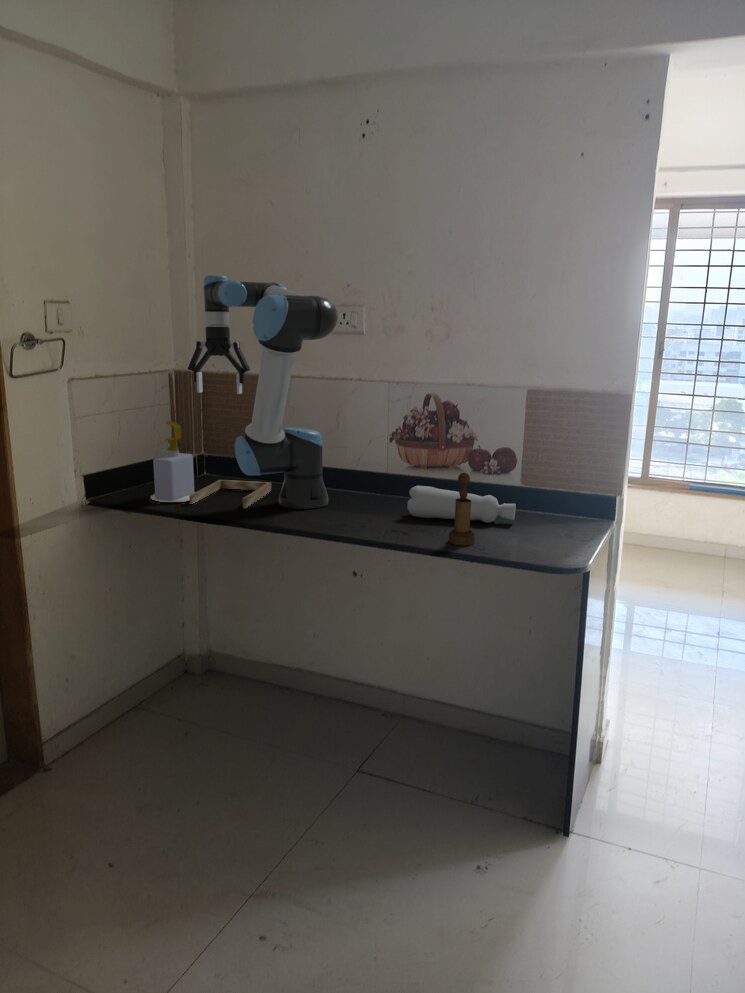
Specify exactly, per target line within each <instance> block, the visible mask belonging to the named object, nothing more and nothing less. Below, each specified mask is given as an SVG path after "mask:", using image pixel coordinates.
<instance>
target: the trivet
mask: <svg viewBox="0 0 745 993" xmlns="http://www.w3.org/2000/svg"><path fill="white" fill-rule="evenodd" d="M195 492H196V491H194V493H195ZM192 494H193V493H192ZM189 495H191V494H189ZM189 495H186V496H183V497H180V498H178V499H175V500H165V499H156V497H155V493H153V494H151V495H150V498H151V499H152V500H155V501H159V502H186V501H190V499H189ZM150 498H149V499H150ZM151 499H150V500H151Z"/></svg>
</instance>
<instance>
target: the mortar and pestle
mask: <svg viewBox="0 0 745 993" xmlns="http://www.w3.org/2000/svg"><path fill="white" fill-rule="evenodd" d="M470 481H471V477H470V475H469V473H467V472H461V473H459V474H458V477H457V482H458V484H459V486H460V490H459V491H458V492H459V494H460V498H458V499H456V502H455V519H454V526H453V529H452V530H451V531H449V533H448V543H450V544H453V545H455V546H472V545H473V544H475V533H474V532H473V531H472V530H471V529H470V527H471V520H470V513H471V500H469V499H466V498H467V495H468V493H469V491H468V489H467V487H468V485H469V483H470Z"/></svg>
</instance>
